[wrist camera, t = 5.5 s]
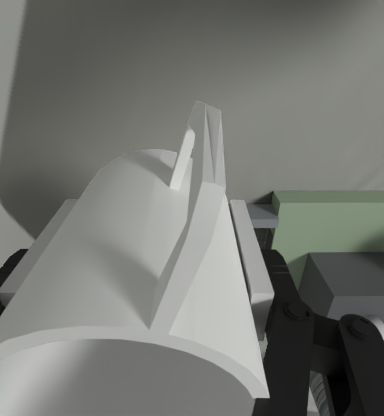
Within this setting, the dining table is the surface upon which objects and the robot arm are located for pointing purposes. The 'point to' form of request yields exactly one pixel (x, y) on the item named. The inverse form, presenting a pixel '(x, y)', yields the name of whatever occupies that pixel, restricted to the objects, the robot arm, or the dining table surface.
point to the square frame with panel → (330, 248)
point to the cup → (138, 296)
